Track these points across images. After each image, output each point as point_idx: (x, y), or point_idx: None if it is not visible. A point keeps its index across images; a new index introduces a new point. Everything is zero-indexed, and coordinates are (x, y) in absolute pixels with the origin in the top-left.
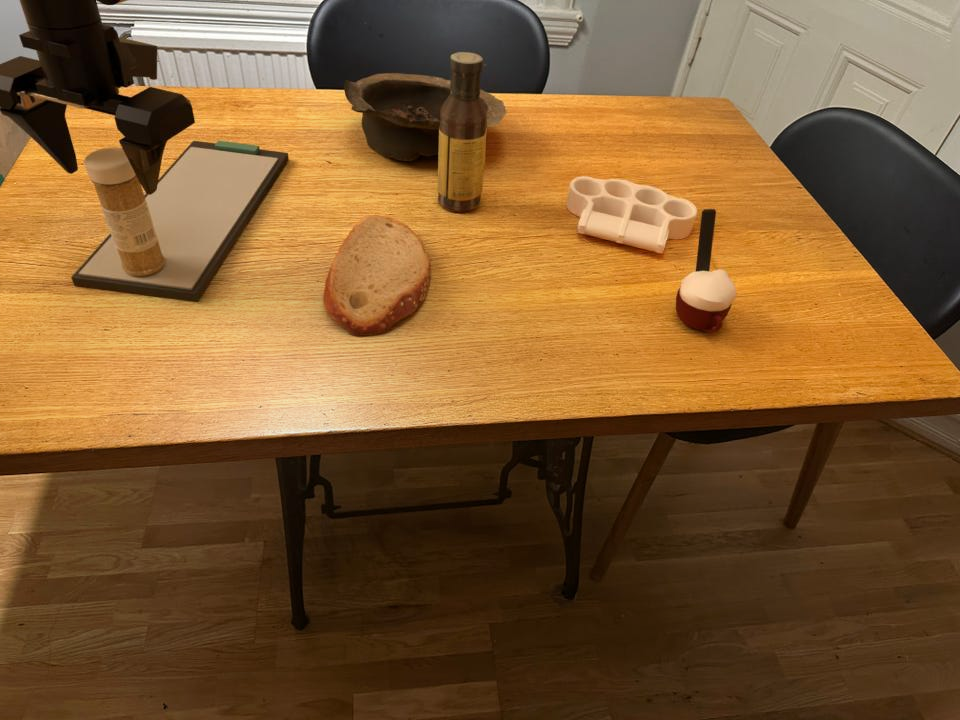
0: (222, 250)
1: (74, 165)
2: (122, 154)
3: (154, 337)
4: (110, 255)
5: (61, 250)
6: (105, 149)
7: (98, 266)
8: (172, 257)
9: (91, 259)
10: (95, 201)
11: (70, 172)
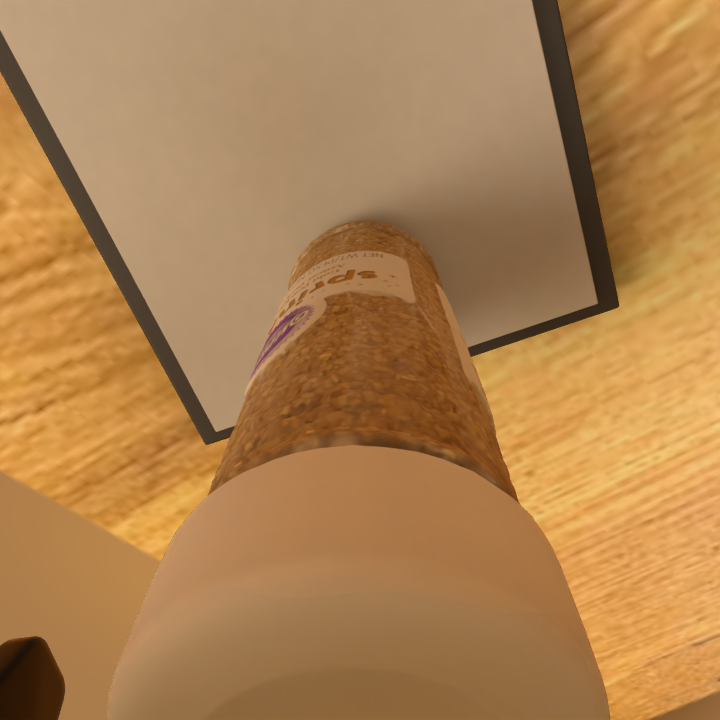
0: (551, 9)
1: (21, 688)
2: (455, 699)
3: (581, 470)
4: (210, 309)
5: (3, 321)
6: (186, 707)
7: (235, 377)
8: (410, 191)
9: (181, 362)
10: None
11: (62, 702)
